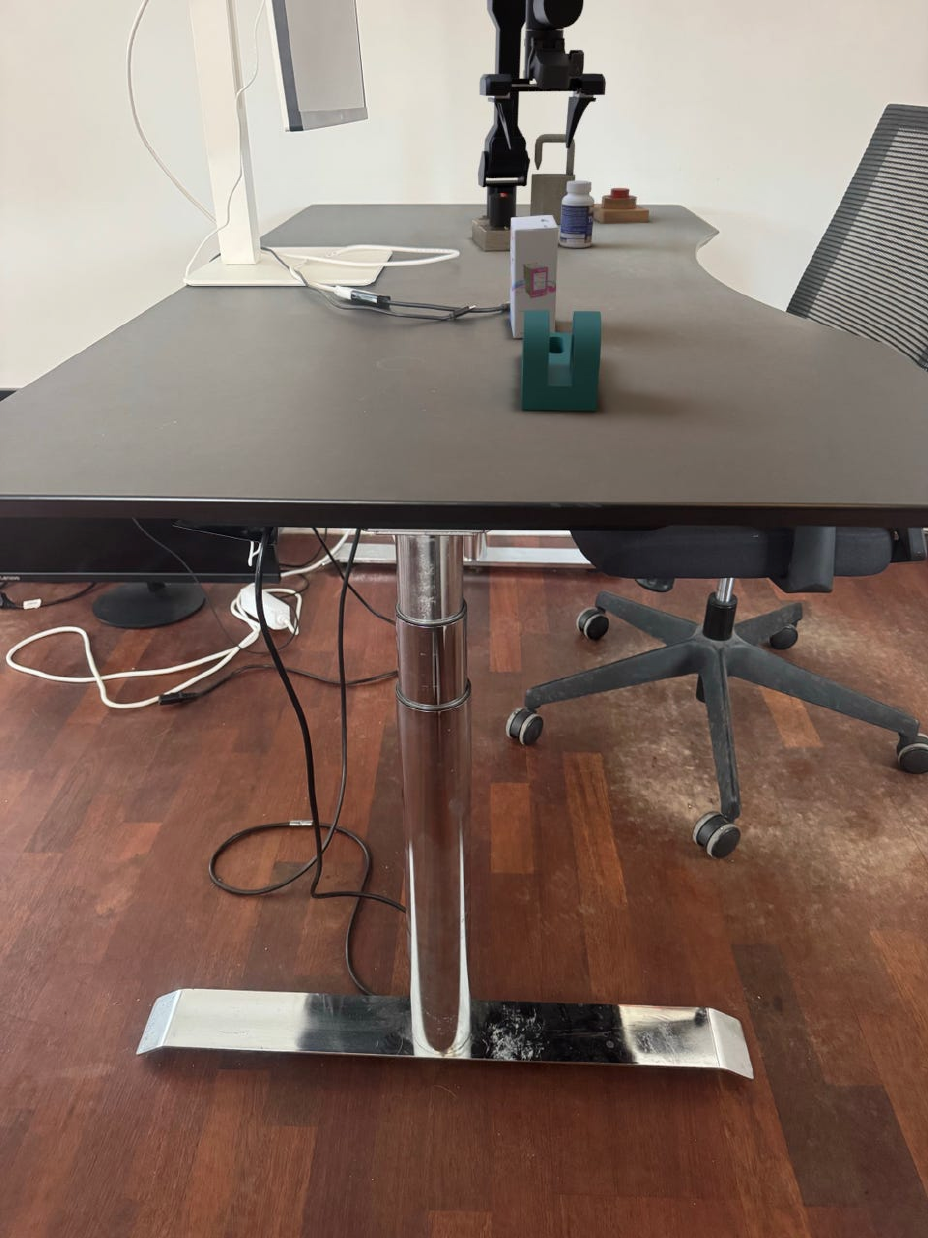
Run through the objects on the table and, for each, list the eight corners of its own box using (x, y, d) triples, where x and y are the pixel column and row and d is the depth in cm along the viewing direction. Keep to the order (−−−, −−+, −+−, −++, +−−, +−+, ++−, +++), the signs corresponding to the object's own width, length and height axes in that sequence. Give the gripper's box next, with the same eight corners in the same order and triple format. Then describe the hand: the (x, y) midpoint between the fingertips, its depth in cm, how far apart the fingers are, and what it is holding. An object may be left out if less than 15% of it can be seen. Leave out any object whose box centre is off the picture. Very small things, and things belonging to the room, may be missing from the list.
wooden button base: (588, 215, 175) (589, 193, 173) (631, 214, 176) (633, 192, 174) (603, 223, 167) (605, 200, 165) (648, 222, 168) (650, 199, 166)
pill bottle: (592, 248, 145) (597, 183, 140) (560, 248, 146) (564, 183, 140) (589, 242, 150) (594, 179, 145) (558, 242, 150) (561, 179, 145)
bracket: (595, 410, 79) (603, 321, 75) (521, 409, 79) (524, 321, 75) (584, 353, 94) (589, 277, 90) (521, 352, 94) (524, 276, 90)
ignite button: (607, 197, 171) (608, 187, 170) (625, 197, 171) (626, 187, 170) (613, 200, 168) (614, 190, 167) (631, 199, 168) (632, 189, 167)
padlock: (530, 220, 170) (533, 132, 162) (572, 221, 169) (577, 133, 161) (529, 224, 167) (532, 134, 158) (572, 224, 166) (578, 134, 158)
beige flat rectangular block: (470, 238, 154) (470, 218, 152) (527, 236, 155) (528, 217, 153) (483, 250, 144) (483, 230, 142) (543, 248, 145) (544, 228, 144)
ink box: (507, 319, 106) (510, 213, 100) (548, 319, 106) (553, 213, 100) (511, 339, 99) (514, 226, 93) (555, 338, 99) (561, 225, 93)
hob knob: (486, 222, 149) (486, 191, 147) (511, 221, 150) (512, 190, 147) (491, 226, 146) (492, 195, 143) (517, 225, 146) (518, 194, 144)
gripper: (493, 28, 122) (492, 154, 131) (621, 28, 125) (611, 151, 133) (479, 30, 131) (478, 147, 140) (598, 30, 134) (590, 145, 142)
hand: (539, 148), depth 139 cm, fingers open, 9 cm apart
